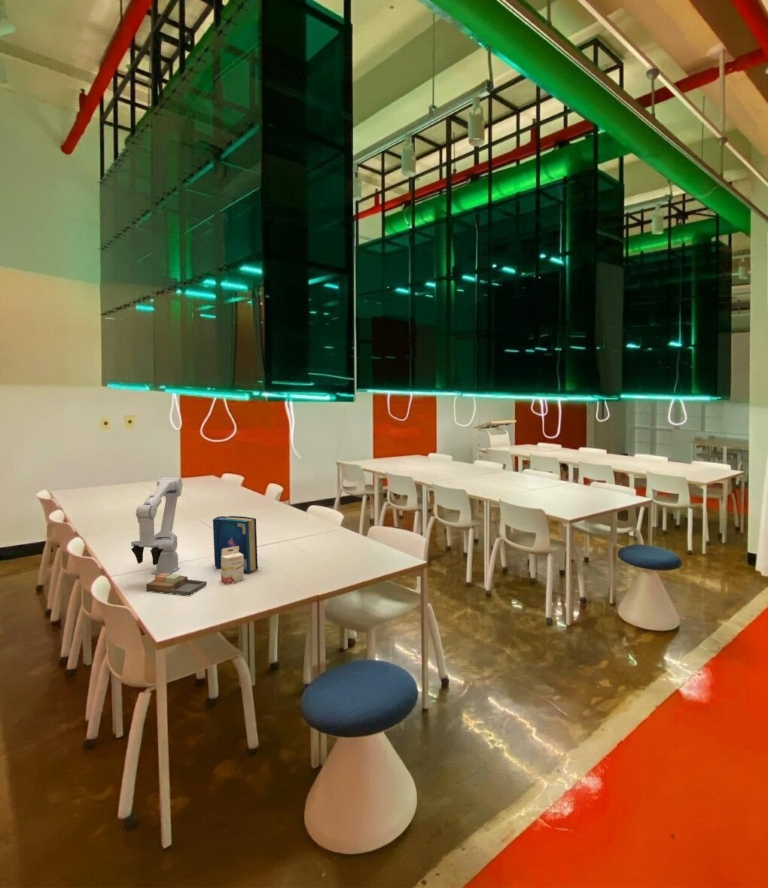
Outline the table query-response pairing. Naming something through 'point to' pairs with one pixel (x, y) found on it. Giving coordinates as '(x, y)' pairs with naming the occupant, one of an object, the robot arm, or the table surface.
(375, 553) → the table surface
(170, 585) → the plate
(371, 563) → the table surface
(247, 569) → the book
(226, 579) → the ink cartridge box
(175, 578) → the tile
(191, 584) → the tray
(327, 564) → the table surface
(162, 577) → the tile
